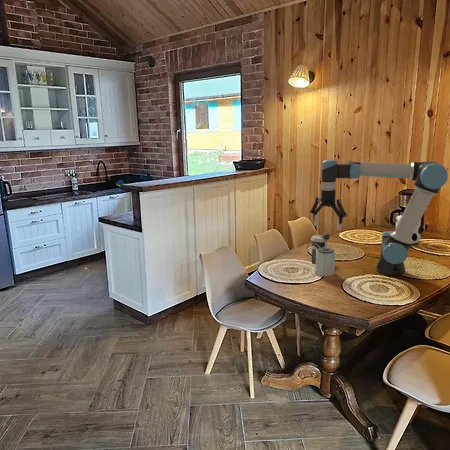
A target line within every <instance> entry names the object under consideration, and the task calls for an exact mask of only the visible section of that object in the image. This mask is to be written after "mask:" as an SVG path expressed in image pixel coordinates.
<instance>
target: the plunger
mask: <svg viewBox="0 0 450 450" xmlns="http://www.w3.org/2000/svg"><path fill="white" fill-rule="evenodd" d="M330 235H331V234H330V233H323V234H322V236H323V239H325V251H327V248H328V240H330ZM325 254H326V253H325Z"/></svg>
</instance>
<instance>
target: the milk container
mask: <svg viewBox="0 0 450 450" xmlns="http://www.w3.org/2000/svg"><path fill="white" fill-rule="evenodd" d="M402 215H403V214H401V215H398V216H396V219H395V228H394V230H395V229H396V227H397V225H398V223H399V221H400V219H401V217H402ZM421 223H422V219H421V220H420V222H419V223H418V225H417V227H416V229H415V231H414V233H413V235H412V237H411V241H412V244H411V245H416V244H417V245H418V244H419V243H420V241H421V238H422V237H421V236H422V235H421Z"/></svg>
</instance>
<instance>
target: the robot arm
mask: <svg viewBox="0 0 450 450" xmlns="http://www.w3.org/2000/svg"><path fill="white" fill-rule="evenodd" d="M321 165H322V166H321V186H320V187H321V190H320V196H317V197H315V201H314V204H313V205H312V207H311V210H310V212H309V213H310V214H312V215H313V216H312V217H313V221H314V227H318V226H319V212H320V211H321V210H322V208H323V207H329V208H332V210H333V211H334V213H335V214H336V216H337V220H336V221H337V222H336V230H337V231H339V230H341V229H342V228H341V227H342V224H343V218H346V217H347V214H346V211H345V209H344V206H343V205H342V199H341V198H339V199H336V194H337V193H336V189H337V179H350V180H351V179H352V180H355V179H360V177H371V178H372V177H373V178H376V177H378V178H393V179H394V178H395V179H396V178H397V179H409V180H410V181H413V182H414V183H413V187H414V191H413V193H412V195H411V197H410V199H409V201H408V203H407V205H406V207H405V208H404V211H403V213H402V214H401V215H402V217H401V219H400V221H399V223H398V225H397V227H396V226H395V228H396V229H395V228H394V231H393V230H386V231H383V232H382V235H381V244H380V245H381V246H380V257H379V259H378V261H377V264H376V266H375V267H376V268H375V270H376V272H378V273H380V274H382V275H384V276H385V275H387V276H392V277H393V276H397V277H398V276H402V275H401V274H403V275H405V274H404V273H406V266H405V261H406V259H407V258H408V253H409V250H410V247H411V246H412V245H413V244H412V241H411V237H412V235H413V233H414V231H415V229H416V227H417V225H418V223H419V222H420V220H421V221H422V217H423V216H424V214H425V212H426V210H427V208H428V206H429V204H430V203H431V200H432V198H433V197H434V196H436V195H438V194H439V193H440V191H441V188H442V187H443V186H444V185H445V184H446V183H447V181H448V178H449V174H448V173H449V172H448V170H447V168H446V167H445V166H444V165H443V164H440V163H438V162H437V161H433V160H432V161H412V162H411V163H396V162H393V163H392V162H369V161H368V162H367V161H366V162H363V161H351V160H350V161H347V162H345V163H344V164H343V163H338V162H337V159H335V160H334V159H326V160H323V161H322V162H321ZM320 202H321V203H320ZM319 204H320V205H319Z"/></svg>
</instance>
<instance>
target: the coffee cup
mask: <svg viewBox="0 0 450 450" xmlns="http://www.w3.org/2000/svg"><path fill="white" fill-rule="evenodd" d="M310 241H311V250H312V249H318V248H322V247H325V239H323V234H321V235H320V234H315V235H312V236H311V238H310ZM315 262H316V252H315Z"/></svg>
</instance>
